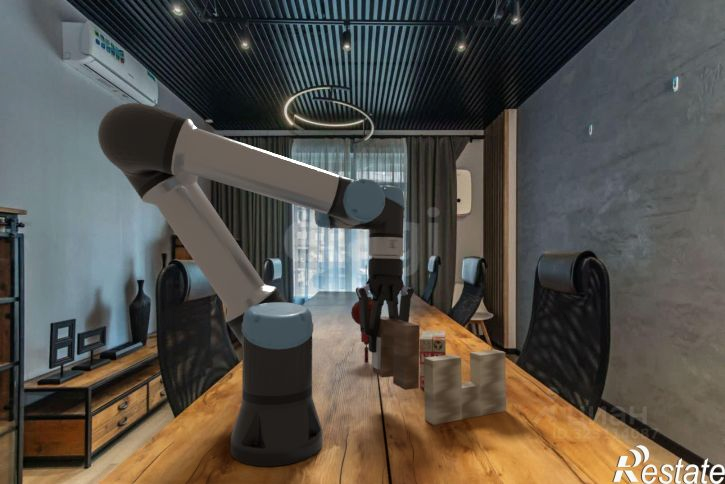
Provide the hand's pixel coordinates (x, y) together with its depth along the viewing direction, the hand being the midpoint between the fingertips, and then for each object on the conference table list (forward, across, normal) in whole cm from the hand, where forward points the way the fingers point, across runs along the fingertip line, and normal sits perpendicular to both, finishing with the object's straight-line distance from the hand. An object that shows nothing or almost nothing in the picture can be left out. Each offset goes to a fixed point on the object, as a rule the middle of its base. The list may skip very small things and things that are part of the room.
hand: (383, 366), depth 92 cm
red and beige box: (+8, +23, +15) cm, 29 cm away
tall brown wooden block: (+2, 0, -5) cm, 5 cm away
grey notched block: (+8, +13, -12) cm, 19 cm away
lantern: (+8, +14, +38) cm, 42 cm away
